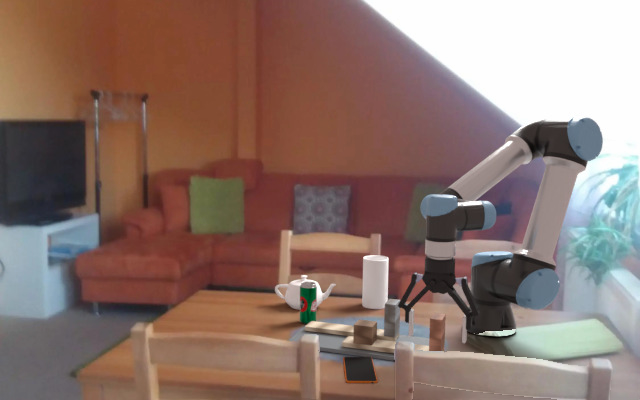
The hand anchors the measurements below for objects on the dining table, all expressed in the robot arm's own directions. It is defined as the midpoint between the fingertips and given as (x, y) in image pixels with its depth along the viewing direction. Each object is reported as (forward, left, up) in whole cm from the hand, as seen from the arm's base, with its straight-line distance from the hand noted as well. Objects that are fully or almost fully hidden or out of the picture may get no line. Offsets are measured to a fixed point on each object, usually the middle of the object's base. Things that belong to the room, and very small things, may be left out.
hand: (437, 338), depth 174 cm
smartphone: (+16, +14, -6) cm, 22 cm away
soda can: (+42, -18, -6) cm, 46 cm away
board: (+20, -5, -6) cm, 22 cm away
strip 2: (+12, 0, -4) cm, 12 cm away
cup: (+28, -43, -6) cm, 52 cm away
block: (+19, 0, -3) cm, 19 cm away
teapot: (+49, -34, -6) cm, 60 cm away
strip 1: (+26, -9, -4) cm, 27 cm away
